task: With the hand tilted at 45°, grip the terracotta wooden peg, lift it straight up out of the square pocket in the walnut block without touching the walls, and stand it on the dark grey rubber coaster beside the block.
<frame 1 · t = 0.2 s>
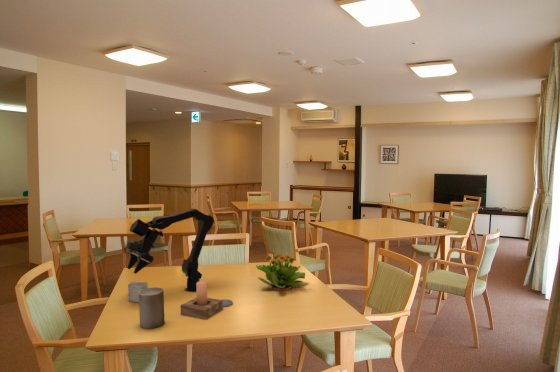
hand: (131, 271, 186), 15 cm above the table, tool tilted 35°, fingers open, 9 cm apart
pillar candle: (151, 324, 162), on the table
coaster: (223, 304, 184), on the table
peg: (201, 297, 175), in the pocket block
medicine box: (138, 301, 189), on the table
potted flower: (280, 288, 207), on the table
pocket block: (202, 311, 175), on the table
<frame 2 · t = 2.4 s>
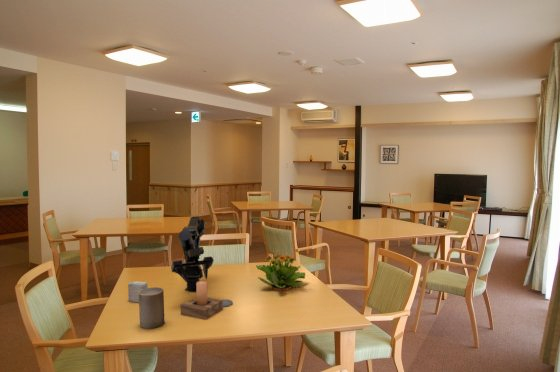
hand: (196, 280, 180), 12 cm above the table, tool tilted 45°, fingers open, 9 cm apart
nothing on the table moved.
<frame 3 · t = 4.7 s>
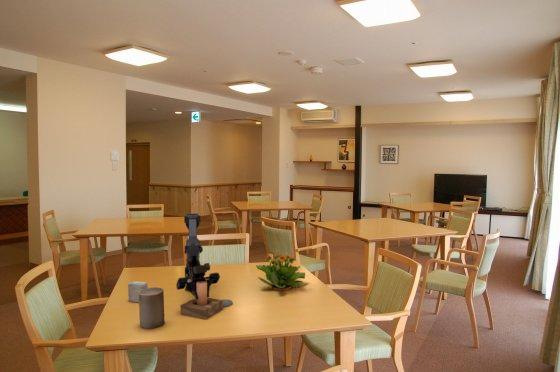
hand: (202, 297, 173), 7 cm above the table, tool tilted 45°, fingers closed on peg, 4 cm apart
peg: (201, 297, 175), in the pocket block, touching gripper
everything else where it was.
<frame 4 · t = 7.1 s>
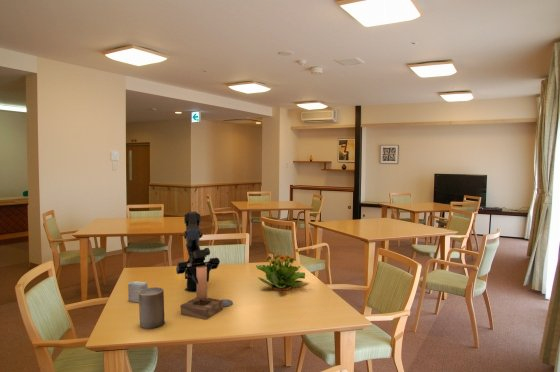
hand: (202, 282, 173), 13 cm above the table, tool tilted 45°, fingers closed on peg, 4 cm apart
peg: (201, 281, 174), point 13 cm above the table, touching gripper
everything else where it was.
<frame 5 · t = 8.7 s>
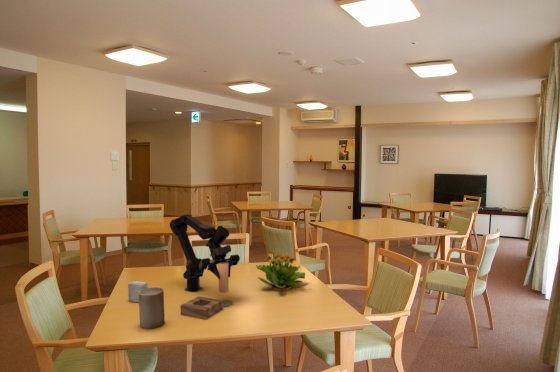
hand: (224, 277, 182), 13 cm above the table, tool tilted 45°, fingers closed on peg, 4 cm apart
peg: (223, 277, 184), point 13 cm above the table, touching gripper
everything else where it was.
when the fingers open (9 cm above the table, at t = 9.8 s): peg drops 1 cm, resting on coaster.
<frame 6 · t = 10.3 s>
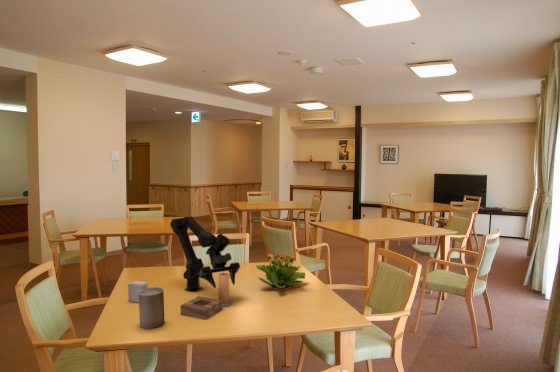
hand: (224, 286, 183), 9 cm above the table, tool tilted 45°, fingers open, 9 cm apart
peg: (223, 288, 184), on the coaster, point 7 cm above the table
everything else where it was.
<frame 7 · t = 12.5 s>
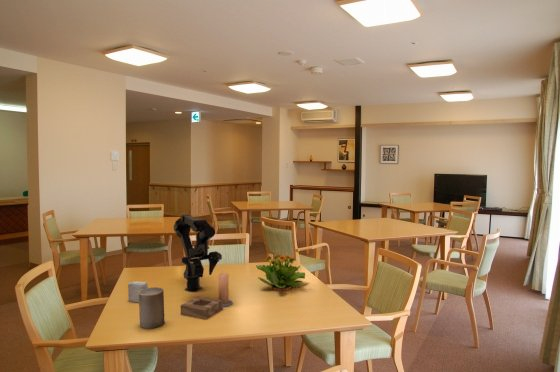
hand: (201, 276, 186), 12 cm above the table, tool tilted 30°, fingers open, 9 cm apart
nothing on the table moved.
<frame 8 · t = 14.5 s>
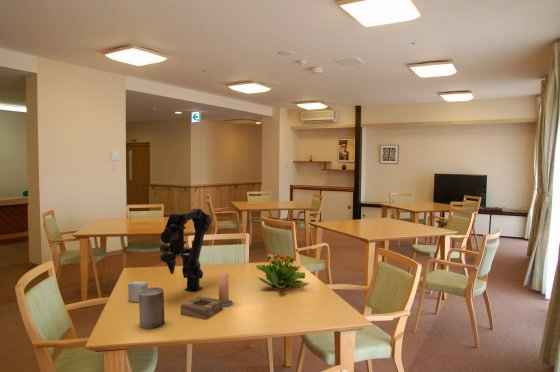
hand: (178, 271, 192), 13 cm above the table, tool pointing down, fingers open, 9 cm apart
nothing on the table moved.
at the end: peg 0.0 cm off-centre on the coaster, point 7.3 cm above the coaster's base; peg tilted 0°; the gripper is holding nothing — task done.
